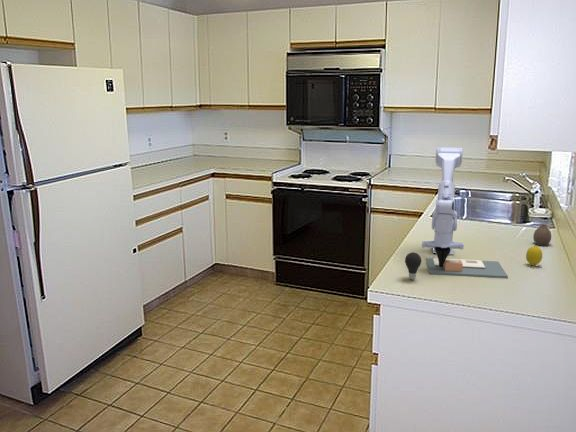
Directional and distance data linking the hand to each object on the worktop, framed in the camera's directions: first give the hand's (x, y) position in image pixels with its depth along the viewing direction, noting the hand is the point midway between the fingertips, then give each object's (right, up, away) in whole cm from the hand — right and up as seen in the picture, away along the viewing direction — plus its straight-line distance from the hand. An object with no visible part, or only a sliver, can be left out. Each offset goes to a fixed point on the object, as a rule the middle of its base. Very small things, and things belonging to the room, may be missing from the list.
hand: (441, 266), depth 187 cm
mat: (+10, -1, +3) cm, 10 cm away
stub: (+4, -2, 0) cm, 5 cm away
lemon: (+37, 0, +5) cm, 37 cm away
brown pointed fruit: (+53, +6, +31) cm, 61 cm away
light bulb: (-13, -4, -8) cm, 15 cm away
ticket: (+8, 0, +5) cm, 10 cm away
